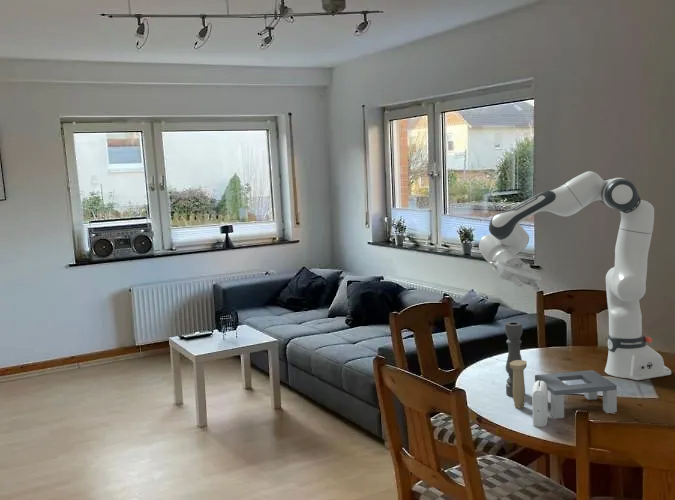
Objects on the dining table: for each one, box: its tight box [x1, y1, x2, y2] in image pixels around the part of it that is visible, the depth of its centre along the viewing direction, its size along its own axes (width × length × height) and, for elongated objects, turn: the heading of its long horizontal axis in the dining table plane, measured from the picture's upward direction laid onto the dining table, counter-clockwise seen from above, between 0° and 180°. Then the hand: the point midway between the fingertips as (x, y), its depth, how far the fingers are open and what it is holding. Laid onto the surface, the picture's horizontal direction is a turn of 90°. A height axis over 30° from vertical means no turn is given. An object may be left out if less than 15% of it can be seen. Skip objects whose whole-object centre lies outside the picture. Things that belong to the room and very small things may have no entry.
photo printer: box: [531, 381, 549, 428], centre depth 206 cm, size 10×4×12 cm, turn 160°
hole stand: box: [534, 369, 618, 420], centre depth 216 cm, size 20×16×9 cm
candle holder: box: [504, 321, 523, 398], centre depth 230 cm, size 6×6×25 cm
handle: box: [510, 359, 527, 410], centre depth 218 cm, size 5×6×15 cm
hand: (530, 287), depth 235 cm, fingers open, 8 cm apart
